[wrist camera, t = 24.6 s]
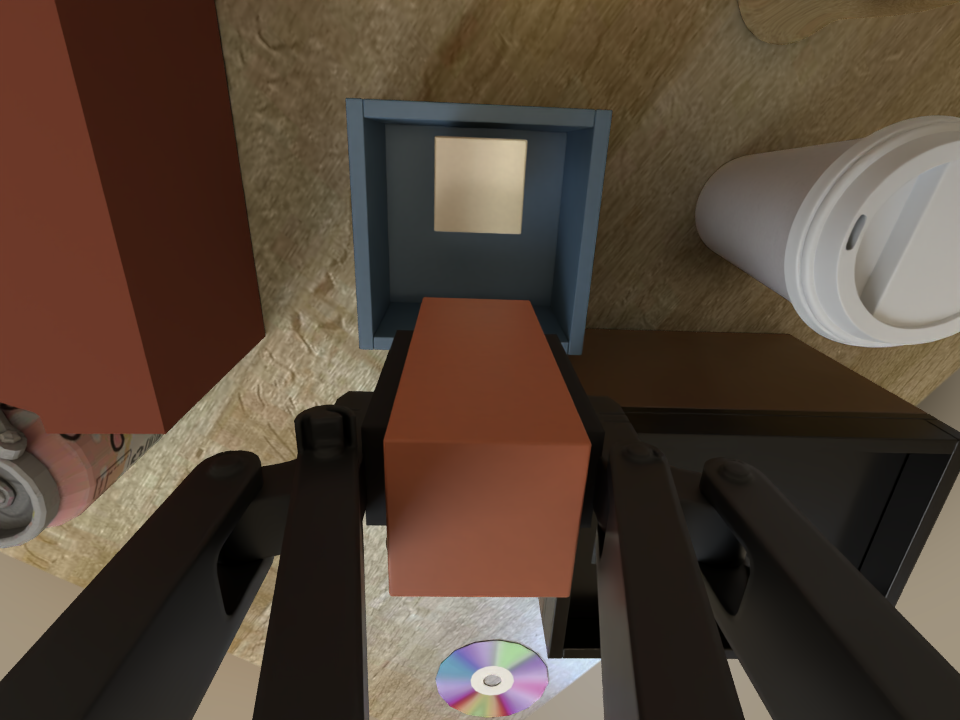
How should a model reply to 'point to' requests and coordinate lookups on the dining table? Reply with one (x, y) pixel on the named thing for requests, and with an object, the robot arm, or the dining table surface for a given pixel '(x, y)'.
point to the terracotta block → (482, 457)
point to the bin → (463, 255)
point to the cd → (500, 658)
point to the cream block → (479, 184)
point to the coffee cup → (850, 230)
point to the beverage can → (55, 472)
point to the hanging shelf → (119, 214)
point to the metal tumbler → (819, 15)
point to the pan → (769, 448)
